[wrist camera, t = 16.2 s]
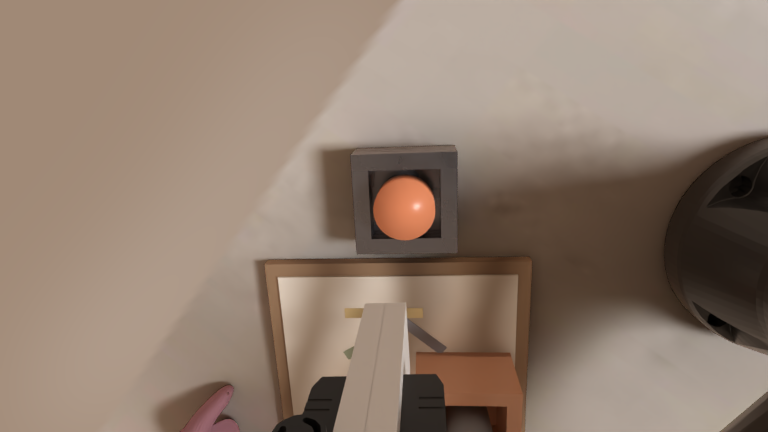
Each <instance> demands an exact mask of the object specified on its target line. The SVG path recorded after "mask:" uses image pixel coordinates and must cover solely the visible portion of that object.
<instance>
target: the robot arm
mask: <svg viewBox="0 0 768 432" xmlns="http://www.w3.org/2000/svg"><path fill="white" fill-rule="evenodd" d="M664 259H665V268H666V273H667V277H668V280H669V283H670V285H671V287H672V289H673V291H674V293H675V295H676V296H677V298H678V299H679V301H680V302H681V303H682V304H683V306H684V307H685V308H686V309H687V310H688V311H689V312H690V313H691V314H692V315H694V316H695V317H696V318H697V319H698V320H699V321H700V322H702V323H703V324H704V325H705V326H706V327H707V328H709V329H710V330H711V331H713V332H714V333H716V334H717V335H719V336H721V337H723V338H724V339H726V340H728V341H730V342H732V343H735V344H738V345H740V346H743V347H746V348H749V349H752V350H754V351H757V352H760V353H763V354H766V355H768V138H766V139H762V140H759V141H756V142H753V143H751V144H748V145H746V146H743V147H741V148H739V149H737V150H735V151H734V152H732V153H730V154H728V155H727V156H725V157H724V158H722V159H720V160H719V161H718V162H716V163H715V164H714V165H712V166H711V167H710V168H709V169H707V170H706V171H705V172H704V173H703V174H702V175H701V176H700V177H699V178H698V179H697V180H696V181H695V182H694V183H693V184H692V186H691V187H690V188H689V189H688V190H687V192H686V193H685V195H684V196H683V198H682V199H681V201H680V202H679V204H678V206H677V208H676V210H675V212H674V214H673V216H672V218H671V221H670V224H669V227H668V230H667V234H666V240H665V249H664ZM272 432H447V426H446V411H445V396H444V384H443V383H442V381H441V380H440V379H439V377H438V376H437V374H410V358H409V343H408V327H407V311H406V302H403V303H368V304H365V305H364V309H363V313H362V317H361V321H360V325H359V329H358V333H357V337H356V341H355V345H354V349H353V353H352V357H351V361H350V365H349V369H348V373H347V376H332V377H321V378H320V379H319V380H318V381H317V382H316V383H315V384H314V385H313V387H312V388H311V391H310V394H309V397H308V401H307V402H306V405H305V408H304V411H303V414H300V415H294V416H292V417H289V418H287V419H284V420H283V421H282V422H280V423H279V424H278V425H276V427H275V428H274V430H273V431H272ZM720 432H768V392H766V393H765V394H764V395H763V396H762V397H760V398H759V399H758V400H757V401H756V402H754V403H753V404H752V405H751V406H750V407H749V408H747V409H746V410H745V411H744V412H743V413H741V414H740V415H739V416H738V417H737V418H735V419H734V420H733V421H732V422H731V423H730V424H728V425H727V426H726V427H725V428H724V429H722V430H721V431H720Z"/></svg>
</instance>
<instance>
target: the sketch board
mask: <svg viewBox="0 0 768 432" xmlns="http://www.w3.org/2000/svg"><path fill="white" fill-rule="evenodd" d="M264 266H265V274H266V282H267V290H268V299H269V307H270V315H271V323H272V331H273V339H274V347H275V355H276V363H277V371H278V380H279V388H280V396H281V404H282V412H283V420H284V419H287V418H289V417H292V416H294V415H300V414H303V411H304V408H305V405H306V402H307V401H308V397H309V394H310V391H311V388H312V387H313V385H314V384H315V383H316V382H317V381H318V380H319V379H320V378H321V377H332V376H347V373H348V369H349V365H350V361H351V357H352V353H353V349H354V345H355V341H356V337H357V333H358V329H359V325H360V321H361V317H362V313H363V309H364V305H365V304H368V303H403V302H406V311H407V327H408V343H409V358H410V374H416V352H437V353H443V352H503V353H510V354H511V357H512V360H513V364H514V367H515V370H516V373H517V377H518V380H519V383H520V386H521V390H522V393H523V404H522V428H521V432H525V410H526V388H527V366H528V344H529V321H530V299H531V277H532V260H531V259H530V257H452V258H370V259H288V260H268V261H267V262H266V263H265V264H264Z"/></svg>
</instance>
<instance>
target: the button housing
mask: <svg viewBox="0 0 768 432" xmlns="http://www.w3.org/2000/svg"><path fill="white" fill-rule="evenodd" d="M350 158H351V173H352V189H353V204H354V219H355V235H356V250H357V254H419V253H458V223H457V150H456V147H455V145H442V146H412V147H382V148H356V149H355V151H354V152H353V153H352V154H351V155H350ZM403 174H408V175H413V176H416V177H419V178H420V179H422V180H423V181H425V182H426V183H427V184H428V185H429V187H430V188H431V190H432V192H433V195H434V200H435V218H434V221H433V223H432V225H431V227H430V228H429V229H428V231H427V232H426V233H424V234H423V235H422V236H420V237H418V238H415V239H412V240H397V239H394V238H391V237H389V236H388V235H386V234H385V233H384V232H382V230H381V229H380V228H379V227H378V225H377V223H376V221H375V218H374V214H373V207H374V202H375V199H376V196H377V194H378V192H379V189H380V188H381V186H382V185H383V184H384V183H385V182H386V181H387V180H389V179H390V178H392V177H394V176H397V175H403Z"/></svg>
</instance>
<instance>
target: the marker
mask: <svg viewBox="0 0 768 432" xmlns="http://www.w3.org/2000/svg"><path fill="white" fill-rule="evenodd" d="M445 411H446V426H447V432H493V431H492V427H491V423H490V419H489V415H488V411H487V407H486V406H445Z"/></svg>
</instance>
